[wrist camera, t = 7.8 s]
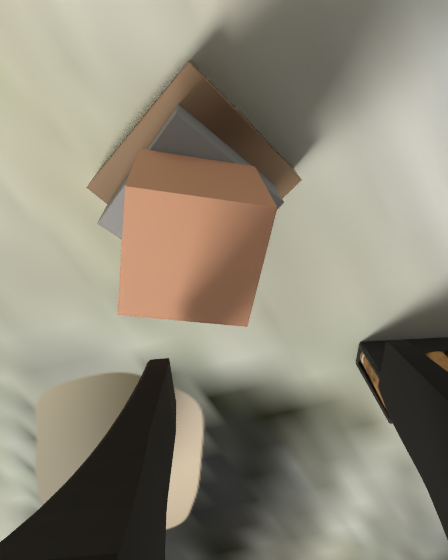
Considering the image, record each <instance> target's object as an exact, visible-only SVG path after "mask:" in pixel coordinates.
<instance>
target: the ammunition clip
mask: <svg viewBox="0 0 448 560" xmlns="http://www.w3.org/2000/svg"><path fill="white" fill-rule="evenodd" d="M386 341H391V340H386ZM386 341H366V342H360V344H359V348H358V353H357V359H356V365H357V367H358V369H359V370H360V372H361V374H362V376H363V377H364V379H365V381H366V383H367V384H368V386H369V388H370V390H371V391H372V393H373V395H374V397H375V399H376V400H377V402H378V404H379V406H380V408H381V409H382V411H383V413H384V415H385V416H386V418H387V420H388V422H389V423H390V424H392V421H391V419H390V417H389V415H388V412H387V410H386V407H385V405H384V402H383V399H382V396H381V394H380V391H379V388H378V383H379V378H380V372H381V367H382V361H383V355H384V350H385V344H386ZM406 341H407V342H409V343H410V344H411V345H413V346H414V347H415V348H417V349H418V350H419V351H421V352H422V353H423V354H425V355H426V356H427V357H429V358H430V359H431V360H433V361H434V362H435V363H437V364H438V365H439V366H441V367H442V368H443V369H445V370H446V371H448V337H446V338H426V339H406Z"/></svg>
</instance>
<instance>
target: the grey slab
mask: <svg viewBox="0 0 448 560" xmlns="http://www.w3.org/2000/svg"><path fill="white" fill-rule="evenodd" d="M147 150H153V151H160V152H166V153H172V154H179V155H185V156H192V157H198V158H204V159H211V160H217V161H224V162H230V163H236V164H243V165H249V166H252V165H251V164H250V163H249V162H247V161H246V160H245V159H244V158H243V157H241V156H240V155H239V154H238V153H237V152H235V151H234V150H233V149H232V148H231V147H229V146H228V145H227V144H226V143H225V142H223V141H222V140H221V139H220V138H219V137H217V136H216V135H215V134H214V133H213V132H211V131H210V130H209V129H208V128H207V127H205V126H204V125H203V124H202V123H201V122H199V121H198V120H197V119H196V118H195V117H193V116H192V115H191V114H190V113H189V112H187V111H186V110H185V109H184V108H183V107H182V106H180V105H179V104H178V105H177V107H176V108H175V110H174V111H173V112H172V114H171V115H170V117H169V118H168V119H167V121H166V122H165V124H164V125H163V127H162V128H161V129H160V131H159V132H158V134H157V135H156V136H155V138H154V139H153V141H152V142H151V143H150V145H149V146H148V148H147ZM257 171H258V170H257ZM258 173H259V175H260V177H261V179H262V180H263V182H264V184H265V186H266V188H267V190H268V191H269V193H270V195H271V197H272V199H273V201H274V202H275V204H276V206H277V209H278V208H279V207H280V206H281V205H282V204H283V203H284V202H283V200H282V198H281V196H280V194H279V192H278V190H277V188H276V186H275V185H274V183H272V182H271V181H270V180H269V179H268V178H266V177H265V176H264V175H263V174H262V173H260V172H259V171H258ZM129 175H130V173H129V174H128V176H127V177H126V179H125V180H124V181H123V183H122V184H121V186H120V187H119V188H118V190H117V191H116V193H115V194H114V196H113V197H112V198H111V200H110V201H109V203H108V204H107V206H106V208H105V210H104V212H103V214H102V216H101V217H100V219H99V221H98V223H97V224H99V225H100V226H102V227H103V228H105V229H106V230H108V231H109V232H111V233H113V234H114V235H116V236H117V237H119V238H120V239H122V232H123V215H124V198H125V185H126V183H127V180H128V177H129Z"/></svg>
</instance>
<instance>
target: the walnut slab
mask: <svg viewBox="0 0 448 560" xmlns="http://www.w3.org/2000/svg"><path fill="white" fill-rule="evenodd" d="M178 104H179V105H180V106H182V107H183V108H184V109H185V110H186V111H187V112H189V113H190V114H191V115H192V116H193V117H195V118H196V119H197V120H198V121H199V122H201V123H202V124H203V125H204V126H205V127H207V128H208V129H209V130H210V131H211V132H213V133H214V134H215V135H216V136H217V137H219V138H220V139H221V140H222V141H223V142H225V143H226V144H227V145H228V146H229V147H231V148H232V149H233V150H234V151H235V152H237V153H238V154H239V155H240V156H241V157H243V158H244V159H245V160H246V161H247V162H249V163H250V164H251V165H252V166H255V167H256V169H257V170H258V171H259V172H260V173H262V174H263V175H264V176H265V177H266V178H268V179H269V180H270V181H271V182H272V183H274V185H275V186H276V188H277V190H278V192H279V194H280V196H281V198H283V197H284V196H285V195H286V194H288V193H289V192H290V191H291V190H292V189H293V188H294V187H295V186H296V185H297V184H298V183H299V182H300V181H301V179H300V177H299V176H298V174H297V173H296V172H295V170H294V169H293V168H292V167H291V166H290V165H289V164H288V163H287V162H286V161H285V160H284V159H283V158H282V156H281V155H280V154H279V153H278V152H277V151H276V150H275V149H274V148H273V147H272V146H271V145H270V144H269V143H268V142H267V141H266V140H265V139H264V138H263V137H262V136H261V135H260V133H259V132H258V131H257V130H256V129H255V128H254V127H253V126H252V125H251V124H250V123H249V122H248V121H247V120H246V119H245V118H244V117H243V116H242V115H241V114H240V113H239V112H238V111H237V109H236V108H235V107H234V106H233V105H232V104H231V103H230V102H229V101H228V100H227V99H226V98H225V97H224V96H223V95H222V94H221V93H220V92H219V91H218V90H217V89H216V88H215V87H214V85H213V84H212V83H211V82H210V81H209V80H208V79H207V78H206V77H205V76H204V75H203V74H202V73H201V72H200V71H199V70H198V69H197V68H196V67H195V66H194V65H193V64H192V63H191V61H190V60H189V61H188V63H187V64H186V65H185V66H184V67H183V69H182V70H181V71H180V72H179V74H178V75H177V76H176V77H175V78H174V80H173V81H172V82H171V83H170V85H169V86H168V87H167V88H166V89H165V91H164V92H163V93H162V94H161V96H160V97H159V98H158V99H157V100H156V102H155V103H154V104H153V105H152V107H151V108H150V109H149V110H148V111H147V113H146V114H145V115H144V116H143V118H142V119H141V120H140V121H139V122H138V124H137V125H136V126H135V127H134V129H133V130H132V131H131V132H130V133H129V135H128V136H127V137H126V138H125V140H124V141H123V142H122V143H121V144H120V146H119V147H118V148H117V149H116V151H115V152H114V153H113V154H112V155H111V157H110V158H109V159H108V160H107V162H106V163H105V164H104V165H103V166H102V168H101V169H100V170H99V171H98V173H97V174H96V175H95V176H94V178H93V179H92V181H91V182H90V183H89V185H88V186H87V187H86V188H88V189H89V190H90V191H91V192H93V193H94V194H95V195H97V196H98V197H99V198H100V199H102V200H103V201H104V202H105V203H107V204H108V203H109V201H110V200H111V198H112V197H113V196H114V194H115V193H116V191H117V190H118V188H119V187H120V186H121V184H122V183H123V181H124V180H125V179H126V177H127V176H128V174H129V173H130V172H131V169H132V166H133V164H134V161H135V158H136V156H137V153H138V150H139V148H140V149H147V148H148V146H149V145H150V143H151V142H152V141H153V139H154V138H155V136H156V135H157V134H158V132H159V131H160V129H161V128H162V127H163V125H164V124H165V122H166V121H167V119H168V118H169V117H170V115H171V114H172V112H173V111H174V110H175V108H176V107H177V105H178Z"/></svg>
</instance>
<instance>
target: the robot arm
mask: <svg viewBox="0 0 448 560" xmlns="http://www.w3.org/2000/svg"><path fill="white" fill-rule="evenodd" d="M378 388H379V391H380V394H381V396H382V399H383V402H384V405H385V407H386V410H387V412H388V415H389V417H390V419H391V421H392V423H393V425H394V426H395V428H396V430H397V432H398V434H399V436H400V438H401V440H402V442H403V444H404V445H405V447H406V449H407V451H408V453H409V455H410V457H411V458H412V460H413V462H414V464H415V466H416V468H417V470H418V472H419V473H420V475H421V477H422V479H423V481H424V484H425V486H426V488H427V490H428V492H429V495H430V497H431V499H432V502H433V504H434V507H435V509H436V512H437V514H438V516H439V519H440V521H441V524H442V526H443V529H444V532H445V534H446V537H447V539H448V371H446V370H445V369H443V368H442V367H441V366H439V365H438V364H437V363H435V362H434V361H433V360H431V359H430V358H429V357H427V356H426V355H425V354H423V353H422V352H421V351H419V350H418V349H417V348H415V347H414V346H413V345H411V344H410V343H409V342H407V341H406V340H391V341H386V344H385V350H384V355H383V361H382V367H381V372H380V378H379V383H378ZM175 434H176V399H175V393H174V387H173V380H172V374H171V368H170V361H169V358H166V359H153V360H150V361H149V362H148V363H147V365H146V368H145V370H144V372H143V374H142V376H141V378H140V380H139V382H138V384H137V386H136V387H135V389H134V391H133V393H132V395H131V396H130V398H129V400H128V401H127V403H126V405H125V407H124V408H123V410H122V411H121V413H120V415H119V416H118V418H117V419H116V421H115V422H114V424H113V425H112V426H111V428H110V430H109V431H108V432H107V434H106V435H105V437H104V438H103V439H102V441H101V442H100V443H99V445H98V446H97V447H96V448H95V450H94V451H93V452H92V453H91V455H90V456H89V457H88V458H87V460H86V461H85V462H84V463H83V464H82V465H81V466H80V468H79V469H78V470H77V471H76V472H75V473H74V475H73V476H72V477H71V478H70V479H69V480H68V481H67V482H66V483H65V484H64V485H63V486H62V487H61V488H60V489H59V490H58V491H57V492H56V493H55V494H54V495H53V496H52V497H51V498H50V499H49V500H48V501H47V502H46V503H45V504H44V505H43V506H42V507H41V508H40V509H39V510H37V511H36V512H35V513H34V514H33V515H32V516H31V517H30V518H28V519H27V520H26V521H25V522H24V523H23V524H21V525H20V526H19V527H18V528H17V529H16V530H14V531H13V532H12V533H11V534H10V535H8V536H7V537H6V538H5V539H4V540H2V541H1V542H0V560H165V538H166V511H167V498H168V490H169V483H170V474H171V467H172V459H173V451H174V442H175Z"/></svg>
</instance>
